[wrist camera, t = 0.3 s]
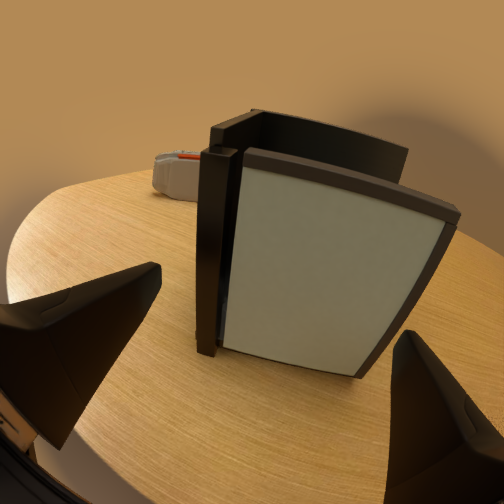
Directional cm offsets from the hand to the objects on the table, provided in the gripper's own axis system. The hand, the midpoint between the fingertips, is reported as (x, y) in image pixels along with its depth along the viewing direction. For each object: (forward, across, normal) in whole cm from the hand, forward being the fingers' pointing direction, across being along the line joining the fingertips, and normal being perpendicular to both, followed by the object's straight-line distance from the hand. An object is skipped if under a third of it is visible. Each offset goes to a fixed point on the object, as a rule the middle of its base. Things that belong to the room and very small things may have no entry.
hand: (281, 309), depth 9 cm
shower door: (+8, -2, +12) cm, 15 cm away
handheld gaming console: (+35, +19, +11) cm, 41 cm away
